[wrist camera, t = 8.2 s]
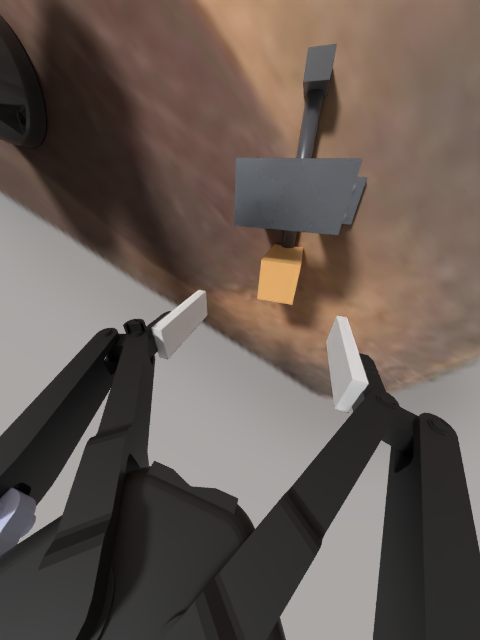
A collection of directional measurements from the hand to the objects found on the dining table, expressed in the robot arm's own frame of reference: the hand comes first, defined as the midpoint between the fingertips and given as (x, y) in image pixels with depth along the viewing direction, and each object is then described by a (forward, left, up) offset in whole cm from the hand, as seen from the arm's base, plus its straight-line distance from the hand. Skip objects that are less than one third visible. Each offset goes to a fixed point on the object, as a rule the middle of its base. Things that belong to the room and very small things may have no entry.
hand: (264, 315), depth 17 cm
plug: (0, +9, -17) cm, 19 cm away
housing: (0, +9, -17) cm, 19 cm away
